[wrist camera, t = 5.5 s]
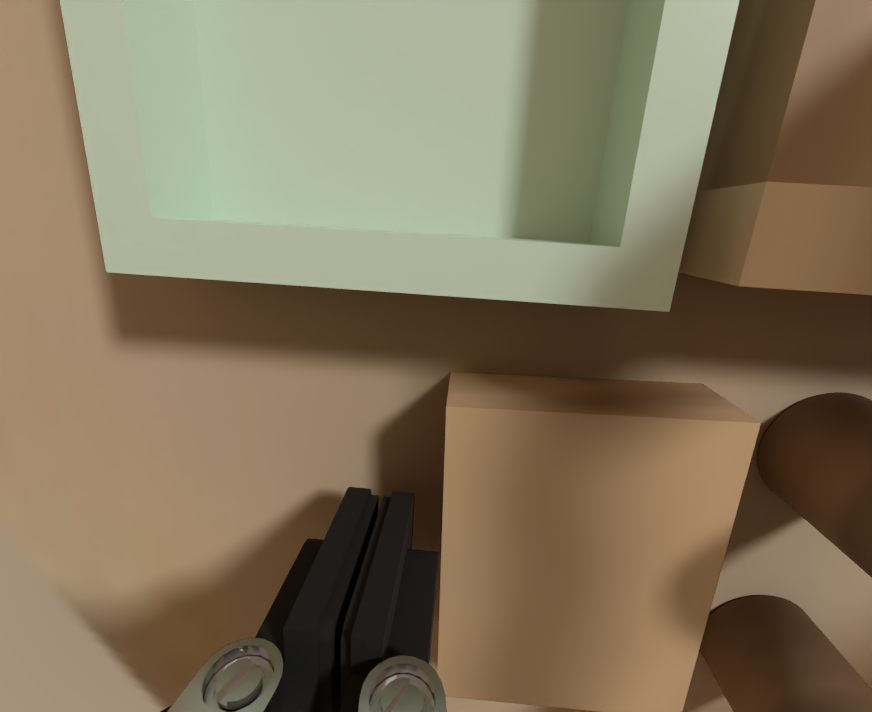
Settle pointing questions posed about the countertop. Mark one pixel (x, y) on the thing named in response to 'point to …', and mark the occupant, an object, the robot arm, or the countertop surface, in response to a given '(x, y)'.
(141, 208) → the tray
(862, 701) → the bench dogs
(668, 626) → the tan cardboard carton
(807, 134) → the socket block
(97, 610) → the countertop surface
